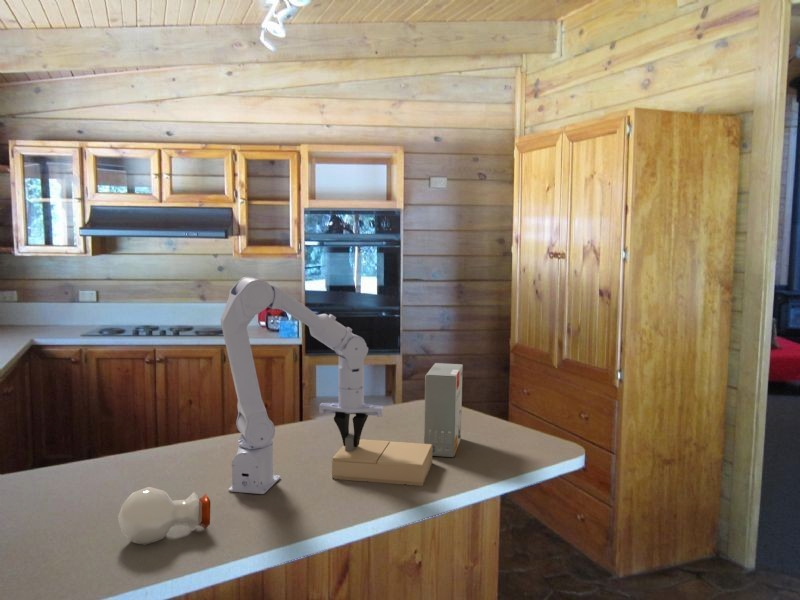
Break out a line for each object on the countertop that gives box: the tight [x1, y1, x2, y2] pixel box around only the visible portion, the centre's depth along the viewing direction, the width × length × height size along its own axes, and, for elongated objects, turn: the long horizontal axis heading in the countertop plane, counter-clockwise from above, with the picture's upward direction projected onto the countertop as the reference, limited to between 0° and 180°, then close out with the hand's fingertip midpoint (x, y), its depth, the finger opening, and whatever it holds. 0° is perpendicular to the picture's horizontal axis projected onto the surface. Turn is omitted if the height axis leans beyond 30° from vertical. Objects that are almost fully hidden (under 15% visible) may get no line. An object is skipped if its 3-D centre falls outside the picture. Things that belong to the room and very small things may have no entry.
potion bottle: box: [117, 486, 211, 546], centre depth 116 cm, size 9×10×15 cm
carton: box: [331, 441, 433, 487], centre depth 149 cm, size 14×20×5 cm
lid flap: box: [332, 432, 391, 464], centre depth 149 cm, size 14×10×4 cm
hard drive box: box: [423, 362, 464, 458], centre depth 164 cm, size 16×8×20 cm, turn 168°
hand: (351, 445), depth 150 cm, fingers closed on lid flap, 2 cm apart
